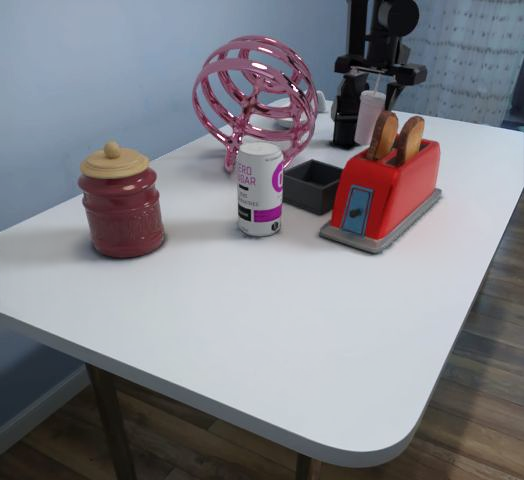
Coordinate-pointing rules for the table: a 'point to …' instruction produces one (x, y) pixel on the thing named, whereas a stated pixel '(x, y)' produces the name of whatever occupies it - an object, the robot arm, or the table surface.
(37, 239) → the table surface
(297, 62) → the spiral basket
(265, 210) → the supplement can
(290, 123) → the spoon rest
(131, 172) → the kitchen canister
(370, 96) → the smoothie
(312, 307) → the table surface
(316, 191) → the bin
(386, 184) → the toaster
